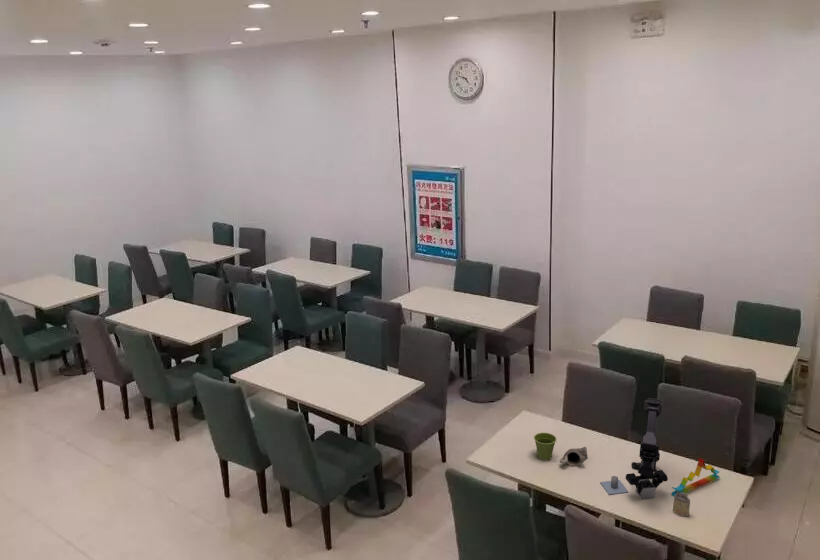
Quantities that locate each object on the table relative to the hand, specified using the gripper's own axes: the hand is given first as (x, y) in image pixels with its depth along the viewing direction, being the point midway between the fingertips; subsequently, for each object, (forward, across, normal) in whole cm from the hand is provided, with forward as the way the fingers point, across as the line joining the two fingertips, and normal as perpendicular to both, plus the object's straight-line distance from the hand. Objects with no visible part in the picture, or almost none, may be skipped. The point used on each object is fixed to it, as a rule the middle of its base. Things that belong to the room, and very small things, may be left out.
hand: (645, 492), depth 311 cm
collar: (+1, 0, 0) cm, 1 cm away
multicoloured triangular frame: (+2, -27, -1) cm, 27 cm away
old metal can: (+2, -9, +16) cm, 18 cm away
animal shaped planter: (+2, +22, -33) cm, 40 cm away
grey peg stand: (+1, +12, -8) cm, 14 cm away
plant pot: (+2, +36, -41) cm, 55 cm away
